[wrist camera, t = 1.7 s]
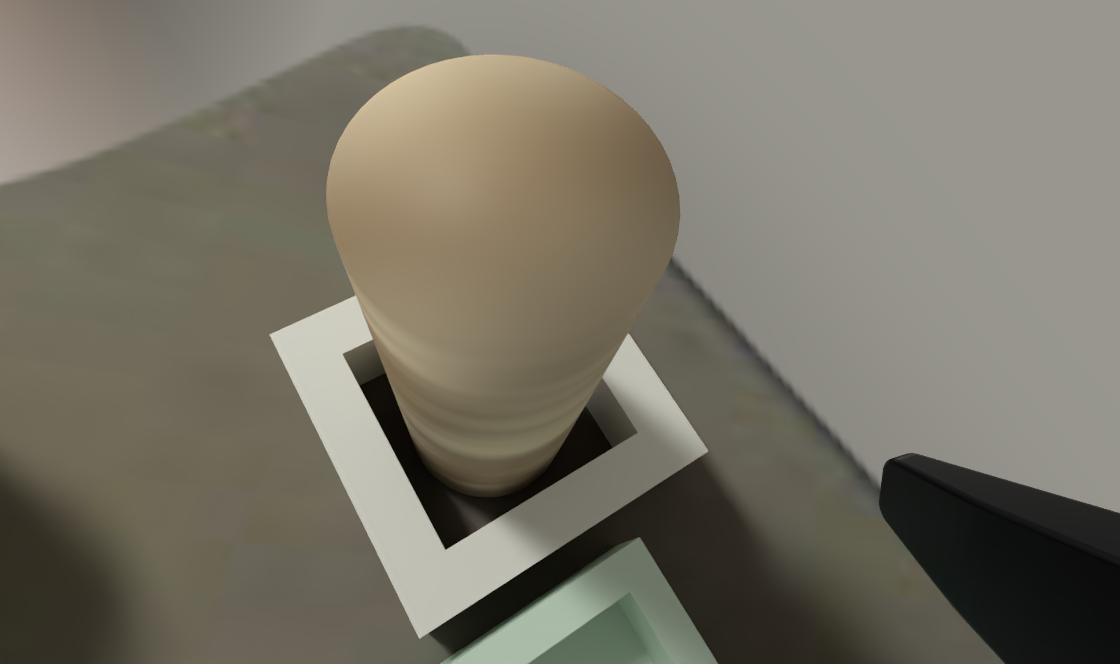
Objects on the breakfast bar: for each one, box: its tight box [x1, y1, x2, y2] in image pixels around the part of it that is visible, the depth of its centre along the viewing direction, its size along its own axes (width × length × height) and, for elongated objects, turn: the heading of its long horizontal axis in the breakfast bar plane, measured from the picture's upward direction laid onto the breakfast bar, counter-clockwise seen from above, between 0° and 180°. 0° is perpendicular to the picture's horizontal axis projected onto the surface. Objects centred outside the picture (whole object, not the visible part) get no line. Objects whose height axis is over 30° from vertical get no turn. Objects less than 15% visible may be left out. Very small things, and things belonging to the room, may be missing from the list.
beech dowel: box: [326, 55, 680, 498], centre depth 15 cm, size 5×5×13 cm
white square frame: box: [270, 296, 708, 639], centre depth 20 cm, size 9×9×3 cm
